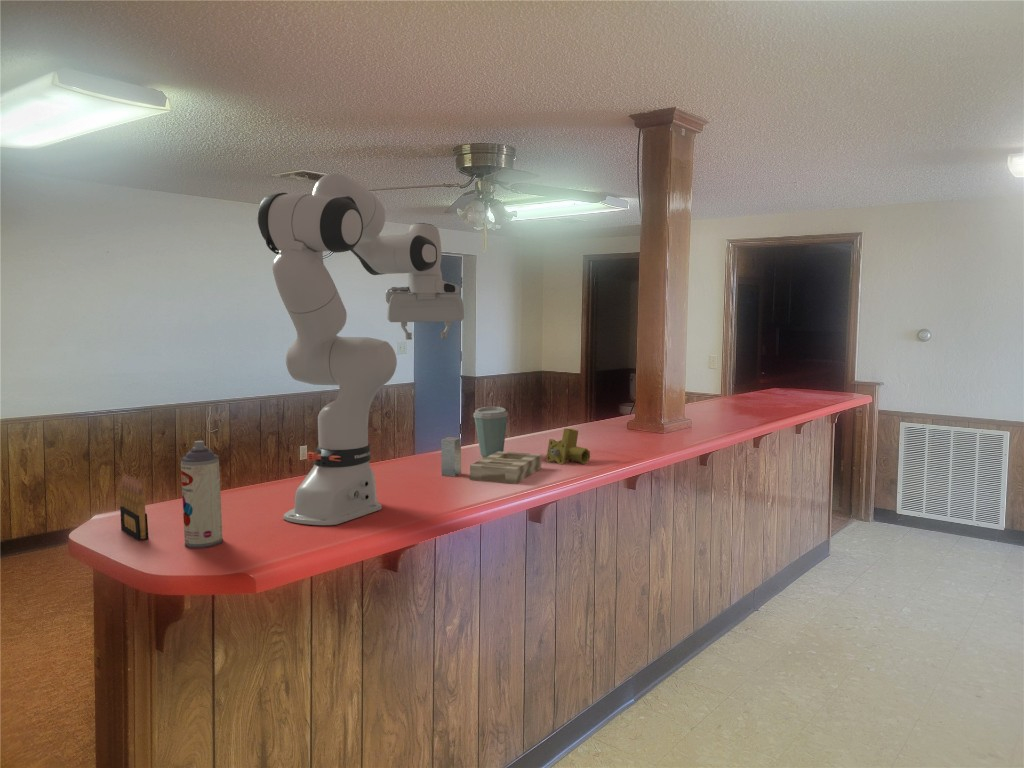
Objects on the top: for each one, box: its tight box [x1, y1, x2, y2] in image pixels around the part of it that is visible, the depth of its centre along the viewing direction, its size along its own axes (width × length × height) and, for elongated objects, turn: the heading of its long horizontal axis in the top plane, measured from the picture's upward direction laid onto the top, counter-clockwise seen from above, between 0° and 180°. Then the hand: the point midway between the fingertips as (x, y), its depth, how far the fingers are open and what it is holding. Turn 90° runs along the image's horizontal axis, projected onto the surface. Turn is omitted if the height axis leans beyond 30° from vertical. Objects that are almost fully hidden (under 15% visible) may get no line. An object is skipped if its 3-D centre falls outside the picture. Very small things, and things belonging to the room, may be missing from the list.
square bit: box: [440, 436, 462, 478], centre depth 200 cm, size 4×4×10 cm
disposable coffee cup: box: [472, 406, 509, 459], centre depth 223 cm, size 11×11×15 cm
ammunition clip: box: [119, 472, 150, 542], centre depth 147 cm, size 11×2×12 cm, turn 45°
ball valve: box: [545, 428, 591, 466], centre depth 216 cm, size 13×10×10 cm
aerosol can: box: [180, 440, 224, 549], centre depth 141 cm, size 7×7×20 cm
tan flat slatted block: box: [469, 451, 542, 485], centre depth 201 cm, size 20×13×4 cm, turn 159°
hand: (426, 339), depth 194 cm, fingers open, 8 cm apart
